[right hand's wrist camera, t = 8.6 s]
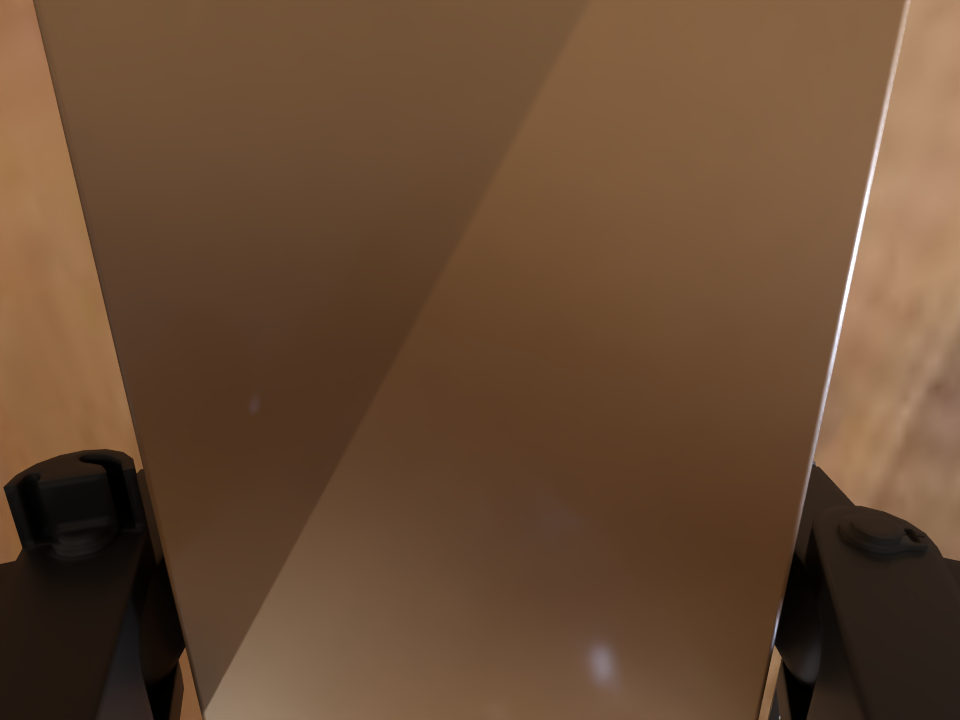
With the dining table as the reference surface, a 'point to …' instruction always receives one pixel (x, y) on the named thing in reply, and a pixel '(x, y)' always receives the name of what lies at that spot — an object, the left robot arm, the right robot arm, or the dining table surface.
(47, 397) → the dining table surface
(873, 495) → the dining table surface
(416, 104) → the wooden beam
